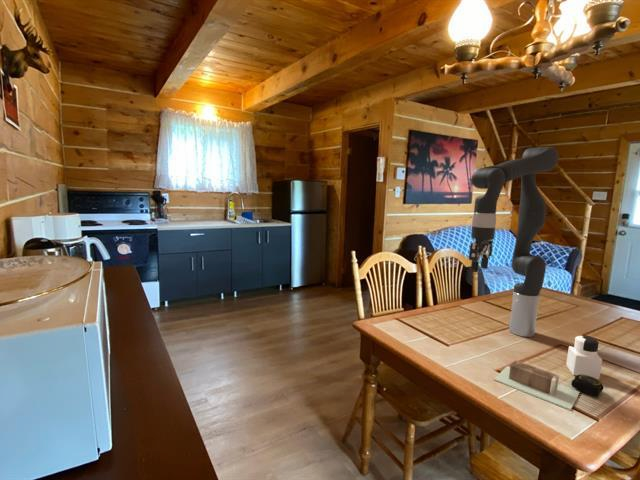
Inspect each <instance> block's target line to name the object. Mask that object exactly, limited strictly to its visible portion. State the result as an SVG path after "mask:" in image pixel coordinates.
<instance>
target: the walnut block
mask: <svg viewBox="0 0 640 480" xmlns="http://www.w3.org/2000/svg"><path fill="white" fill-rule="evenodd" d="M509 367H510V373H509V379H511V380H514V381H516V382H519V383H522V384H524V385H527V386H530V387H532V388H535V389H537V390H540V391H543V392H545V393H548V394H551V395H553V396H554V394H555V393H556V391H557V389H558V384H559V381H560V375H558V374H556V373H553V372H551V371H550V372H549V371H547V370H544V369H541V368H538V367H536V366H532V365H531V364H527V363H524V362H521V361H518V360H514V361H513V362H512V363H511V364H510V366H509Z"/></svg>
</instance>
